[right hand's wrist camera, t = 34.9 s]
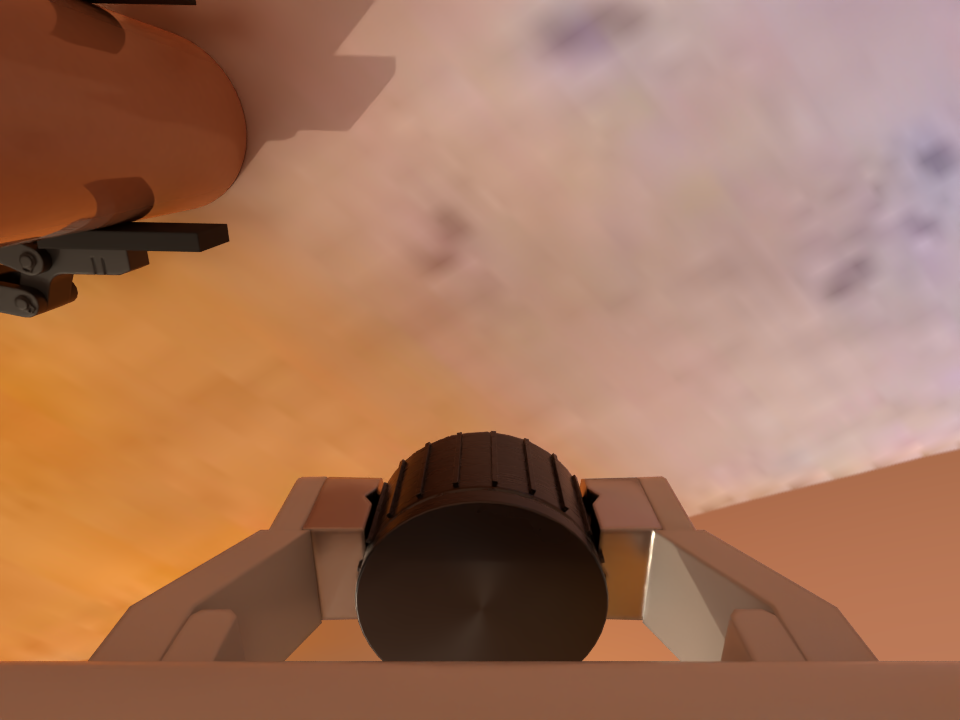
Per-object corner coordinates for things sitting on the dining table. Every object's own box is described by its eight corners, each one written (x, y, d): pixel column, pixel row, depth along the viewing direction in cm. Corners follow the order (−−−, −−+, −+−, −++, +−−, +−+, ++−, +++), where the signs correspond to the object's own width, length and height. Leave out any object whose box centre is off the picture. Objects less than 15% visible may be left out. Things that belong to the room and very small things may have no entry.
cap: (552, 621, 11) (567, 722, 9) (359, 582, 11) (331, 677, 9) (617, 455, 10) (650, 532, 8) (398, 404, 9) (376, 471, 8)
